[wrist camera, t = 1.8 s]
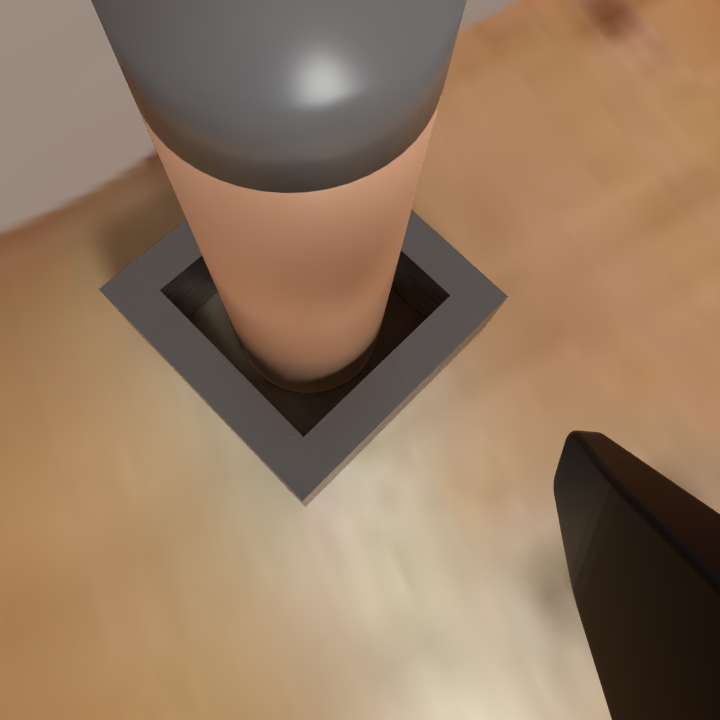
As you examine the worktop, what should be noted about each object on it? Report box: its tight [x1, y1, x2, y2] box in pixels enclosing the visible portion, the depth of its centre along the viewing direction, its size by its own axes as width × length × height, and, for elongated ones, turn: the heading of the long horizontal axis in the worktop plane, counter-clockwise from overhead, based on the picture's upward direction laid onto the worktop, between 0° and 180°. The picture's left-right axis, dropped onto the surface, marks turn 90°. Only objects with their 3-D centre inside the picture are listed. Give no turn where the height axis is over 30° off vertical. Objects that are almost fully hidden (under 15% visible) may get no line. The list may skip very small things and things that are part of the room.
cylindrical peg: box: [92, 0, 466, 393], centre depth 15 cm, size 5×5×15 cm
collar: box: [99, 210, 508, 507], centre depth 21 cm, size 9×9×3 cm
